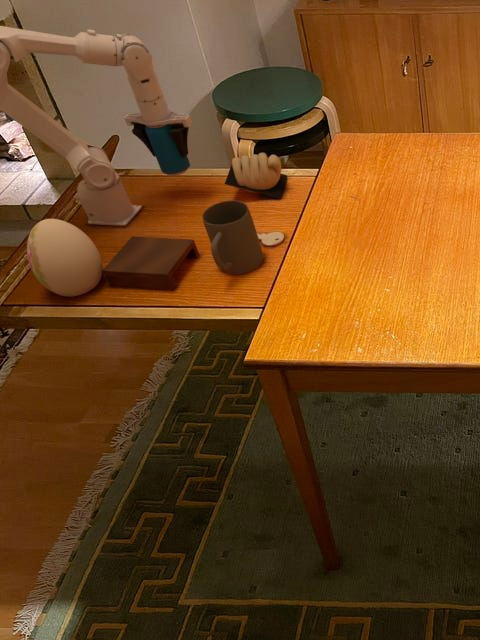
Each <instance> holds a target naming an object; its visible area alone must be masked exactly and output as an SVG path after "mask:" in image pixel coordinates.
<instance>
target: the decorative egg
mask: <svg viewBox="0 0 480 640" xmlns="http://www.w3.org/2000/svg"><path fill="white" fill-rule="evenodd" d="M26 256H27V261H28V265H29V266H30V270H31V272H32V274H33V275H34V277H35V278H36V280H37V281H38V282H39V283H40V284H41V285H42V286H43V287H44V288H45V289H46V290H48V291H50V292H52V293H53V294H56V295H58V296H62V297H70V298H71V297H77V296H82V295H84V294H86V293H88V292H90V291H92V290H93V289H94V288H95V287H96V286H98V284H99V282H100V281H101V279H102V275H103V271H102V270H103V262H102V256H101V255H100V252H99V250H98V248H97V246H96V245H95V243H94V242H93V240H92V239H91V238H90V237H89V236H88V235H87V234H86V233H85V232H83V230H81V229H80V228H79V227H77V226H76V225H73V224H72V223H70V222H68V221H65V220H61V219H57V218H46V219H43V220H40V221H39V222H37V223H36V224H35V225H34V226H33V227H32V228H31V230H30V233H29V235H28V238H27V241H26Z"/></svg>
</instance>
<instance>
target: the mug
mask: <svg viewBox="0 0 480 640" xmlns="http://www.w3.org/2000/svg"><path fill="white" fill-rule="evenodd" d="M202 221H203V225H204V228H205V231H206V234H207V237H208V239H209V242H210V250H211V256H212V258H213V261H214V264H215V265H216V266H217V267H218V268H219V269H221V270H222V271H223V272H224V273H226V274H228V275H243V274H247V273H250V272H252V271H254V270H256V269H258V268H259V267H260V266H261V265H262V263H263V261H264V254H263V249H262V245H261V242H260V240H259V238H258V235H257V233H258V232H257V230H256V226H255V223H254V219H253V217H252V214H251V211H250V208H249V206H248V205H247V204H246V203H244V202H242V201H240V200H224V201H220V202H217V203H215V204H212V205H210V206H209V207H208V208H206V210H205V211H203V213H202Z"/></svg>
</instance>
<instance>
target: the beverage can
mask: <svg viewBox="0 0 480 640" xmlns="http://www.w3.org/2000/svg"><path fill="white" fill-rule="evenodd" d="M171 128H173V126H172V125H171V124H165V125H157V126H148V125H146V127H145V131H146V133H147V136H148V138H149V141H150V143H151V146H152V148H153V151H154V153H155V156H156V157H155V159H156V161H157V163H158V166H159V169H160V171H161V173H163V174H165V175H167V176H171V177H174V176H180V175H183V174H185V173H186V172H187V171H188V169H189V168H190V167H191V163H190V159H189V158H188V155H187V156H186V157H181V155H180V153H179V150H178V148H177V145H176V143H175V141H174V140H173V138H172V136H171V135H170V134H169V132H168V131H169V130H170V129H171Z"/></svg>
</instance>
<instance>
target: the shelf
mask: <svg viewBox="0 0 480 640" xmlns="http://www.w3.org/2000/svg"><path fill="white" fill-rule="evenodd" d="M199 257H200V252H199V250H198V248H197V245H196V242H195V239H191V238H190V239H188V238H171V237H170V238H169V237H152V236H151V237H150V236H131V237H130V238H129V239H128V241H127V242H126V243H125V244H124V245H123V246H122V247H121V248H120V250H118V252H117V253H116V254H115V255H114V256H113V257H112V258H111V260H110V261H109V262H108V263H107V265H105V267H104V268H102V274H103V275H104V277H105V279H106V281H107V283H108V285H109V286H110V287H116V288H129V289H130V288H131V289H146V290H161V291H163V290H164V291H175V290H176V288H177V284H176V282H175V280H174V277H173V275H174V273H176V270H178V268H179V267H180V265H181V264H182V263H183V262H184V260H185V259H198V258H199Z"/></svg>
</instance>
